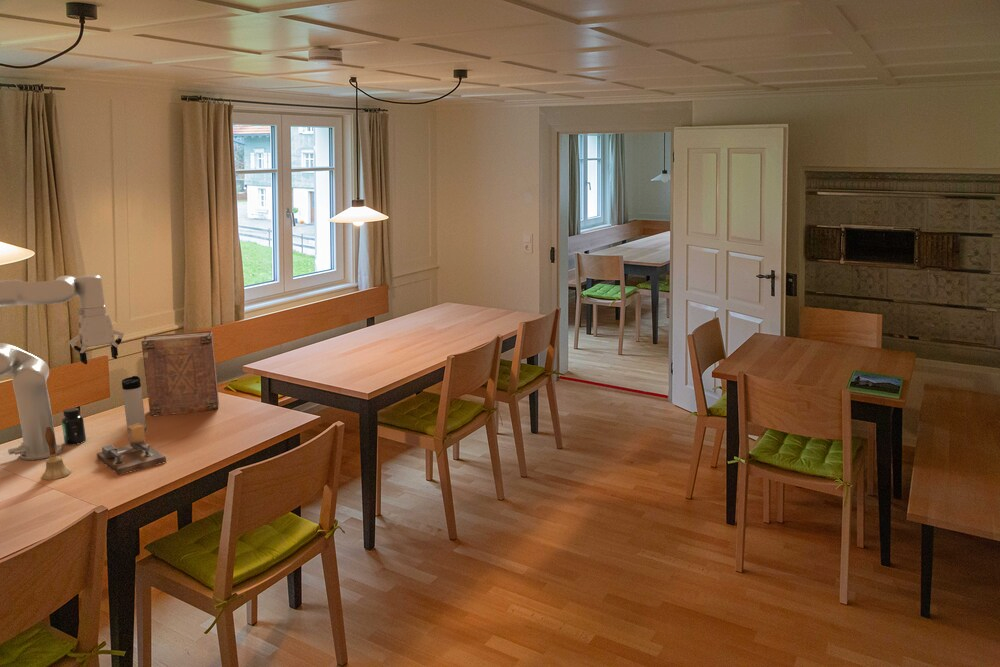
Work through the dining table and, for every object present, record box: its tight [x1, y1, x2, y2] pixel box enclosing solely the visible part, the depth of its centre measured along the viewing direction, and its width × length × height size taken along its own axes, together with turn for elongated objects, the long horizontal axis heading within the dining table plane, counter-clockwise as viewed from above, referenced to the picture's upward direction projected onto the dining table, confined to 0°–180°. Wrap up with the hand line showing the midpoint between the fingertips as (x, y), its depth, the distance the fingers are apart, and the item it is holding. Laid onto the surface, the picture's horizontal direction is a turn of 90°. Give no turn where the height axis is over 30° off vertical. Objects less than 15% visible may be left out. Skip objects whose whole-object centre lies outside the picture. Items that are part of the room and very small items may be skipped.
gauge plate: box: [96, 443, 167, 476], centre depth 271 cm, size 15×20×5 cm
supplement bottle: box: [61, 407, 87, 445], centre depth 288 cm, size 7×7×12 cm
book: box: [141, 330, 220, 417], centre depth 321 cm, size 25×9×30 cm, turn 107°
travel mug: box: [121, 375, 147, 432], centre depth 298 cm, size 6×7×20 cm
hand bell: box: [41, 427, 72, 481], centre depth 259 cm, size 8×8×16 cm
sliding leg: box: [126, 423, 150, 455], centre depth 272 cm, size 4×12×8 cm, turn 43°
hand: (99, 360), depth 280 cm, fingers open, 9 cm apart
